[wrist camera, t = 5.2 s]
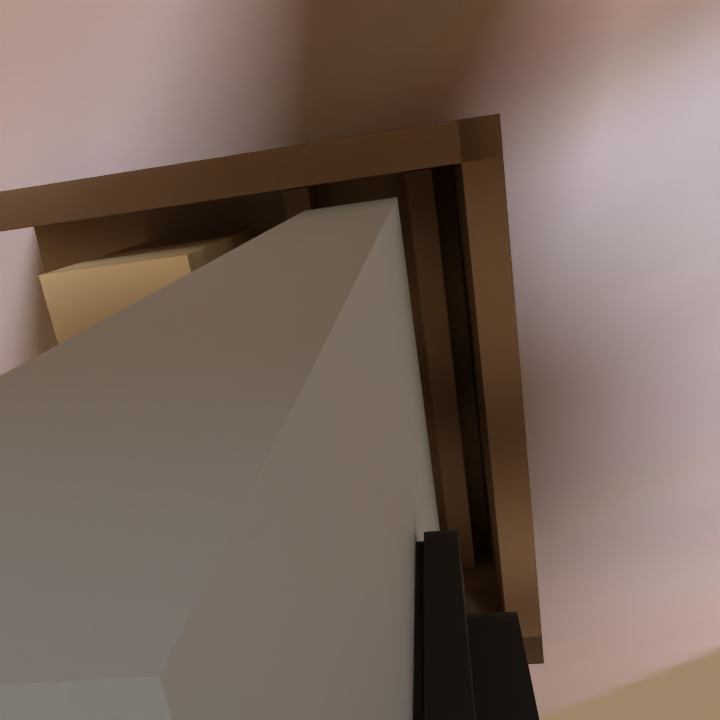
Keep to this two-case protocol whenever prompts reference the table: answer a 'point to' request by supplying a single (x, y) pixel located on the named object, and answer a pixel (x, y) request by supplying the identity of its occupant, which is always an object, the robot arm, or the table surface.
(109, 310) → the tall pine offcut
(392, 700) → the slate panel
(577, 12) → the table surface
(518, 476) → the walnut rack
